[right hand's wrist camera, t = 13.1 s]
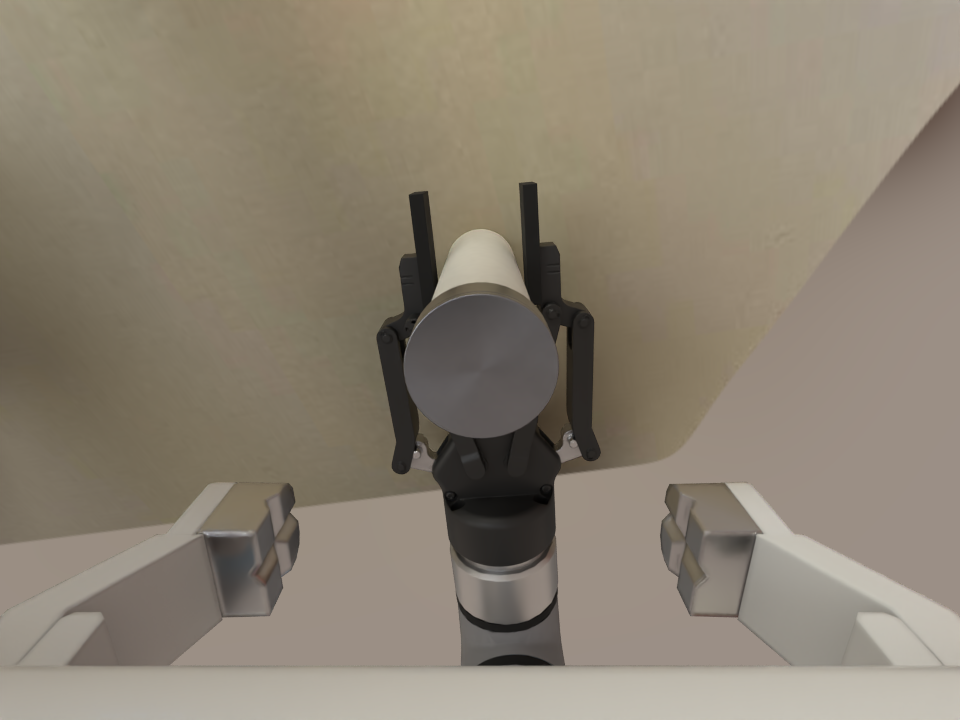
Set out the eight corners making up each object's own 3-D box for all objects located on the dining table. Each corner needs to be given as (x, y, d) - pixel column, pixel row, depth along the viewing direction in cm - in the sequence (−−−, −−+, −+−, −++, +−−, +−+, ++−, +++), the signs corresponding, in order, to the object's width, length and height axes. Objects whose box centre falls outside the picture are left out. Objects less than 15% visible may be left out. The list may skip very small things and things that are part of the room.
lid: (462, 252, 18) (459, 261, 16) (580, 334, 19) (590, 351, 17) (383, 368, 20) (374, 388, 18) (498, 438, 21) (499, 463, 19)
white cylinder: (472, 214, 35) (462, 271, 17) (528, 254, 36) (576, 349, 18) (434, 271, 37) (387, 381, 18) (489, 308, 38) (497, 448, 19)
